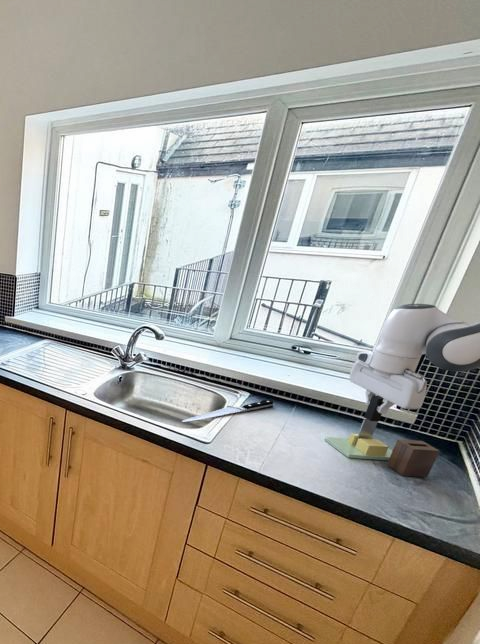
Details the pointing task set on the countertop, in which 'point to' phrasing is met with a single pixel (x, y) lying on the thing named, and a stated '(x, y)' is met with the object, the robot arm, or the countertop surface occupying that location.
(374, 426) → the knife
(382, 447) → the butter block
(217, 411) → the steak knife
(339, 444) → the butter dish
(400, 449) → the knife block
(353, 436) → the butter slice
